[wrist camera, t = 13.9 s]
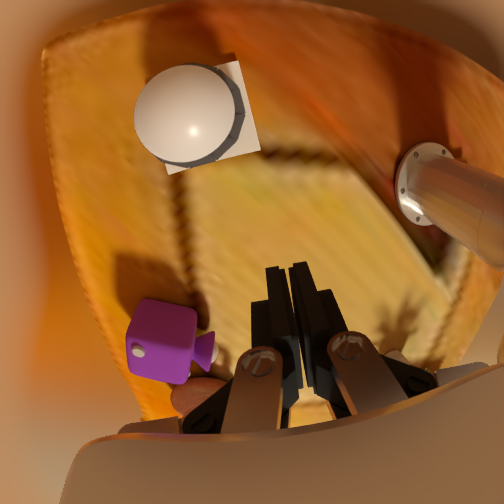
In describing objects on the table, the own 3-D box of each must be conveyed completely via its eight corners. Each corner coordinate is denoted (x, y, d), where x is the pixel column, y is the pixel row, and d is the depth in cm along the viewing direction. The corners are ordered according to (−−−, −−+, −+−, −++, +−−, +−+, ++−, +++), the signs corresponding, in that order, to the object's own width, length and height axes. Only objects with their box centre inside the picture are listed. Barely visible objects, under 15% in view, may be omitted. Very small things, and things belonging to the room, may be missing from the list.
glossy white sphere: (225, 70, 22) (221, 53, 16) (243, 141, 25) (245, 147, 19) (151, 93, 22) (124, 85, 16) (170, 161, 26) (149, 174, 20)
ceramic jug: (202, 414, 56) (200, 465, 43) (154, 386, 50) (144, 443, 37) (265, 388, 52) (273, 447, 39) (218, 354, 46) (217, 423, 33)
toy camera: (220, 347, 45) (217, 394, 36) (143, 342, 44) (130, 386, 35) (219, 298, 40) (215, 346, 31) (132, 293, 39) (110, 337, 30)
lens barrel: (238, 63, 26) (237, 40, 17) (259, 148, 31) (268, 159, 22) (148, 90, 27) (116, 81, 18) (171, 172, 32) (147, 192, 23)
